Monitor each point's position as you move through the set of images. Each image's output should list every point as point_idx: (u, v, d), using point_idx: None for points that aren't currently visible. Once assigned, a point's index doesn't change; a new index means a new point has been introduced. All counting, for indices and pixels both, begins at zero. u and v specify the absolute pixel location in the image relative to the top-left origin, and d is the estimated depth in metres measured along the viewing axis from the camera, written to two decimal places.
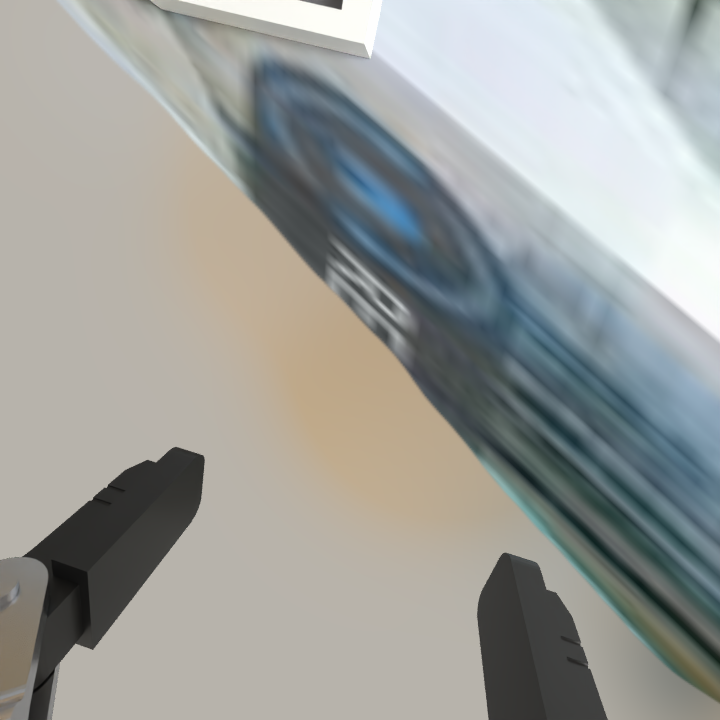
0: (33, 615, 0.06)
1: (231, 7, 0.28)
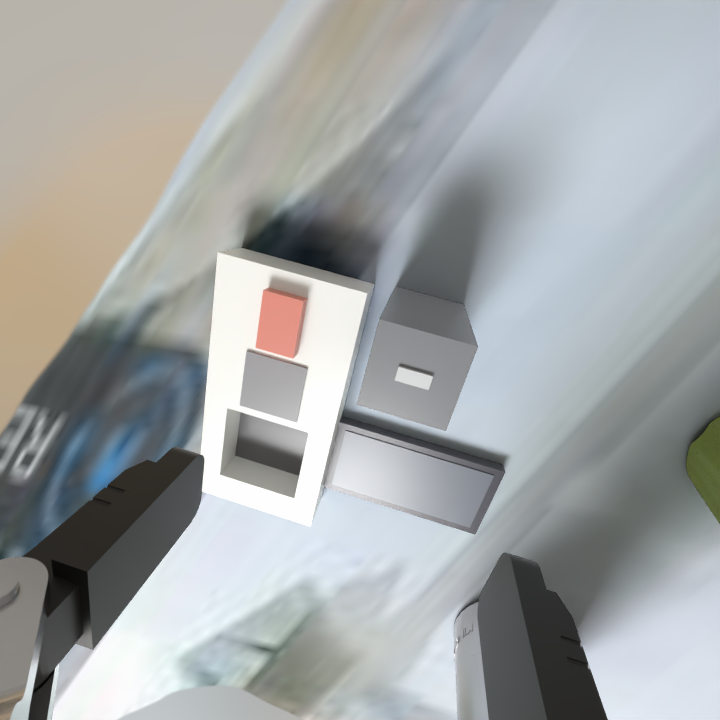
0: (33, 615, 0.06)
1: (212, 371, 0.25)
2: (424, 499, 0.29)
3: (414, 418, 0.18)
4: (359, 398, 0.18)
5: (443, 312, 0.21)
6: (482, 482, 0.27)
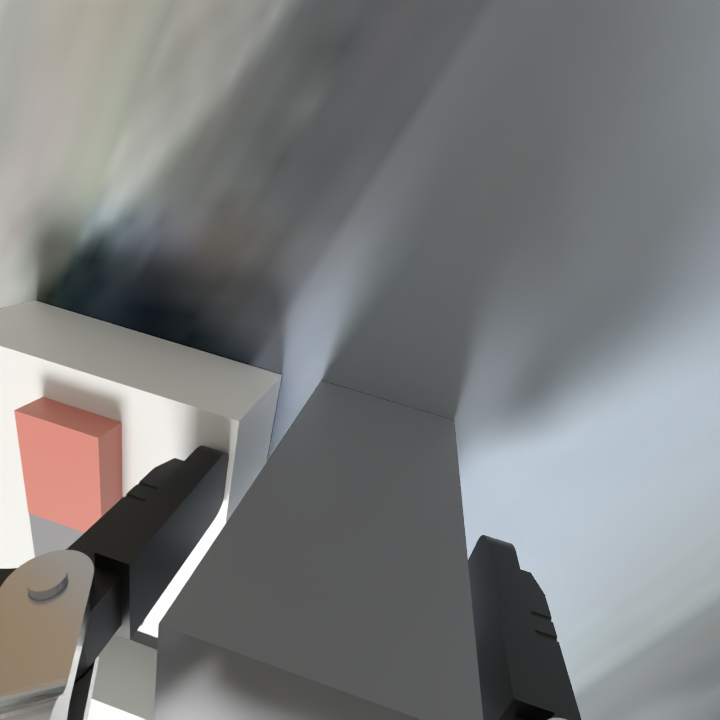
0: (83, 605, 0.06)
1: None
2: None
3: None
4: None
5: (402, 477, 0.09)
6: None
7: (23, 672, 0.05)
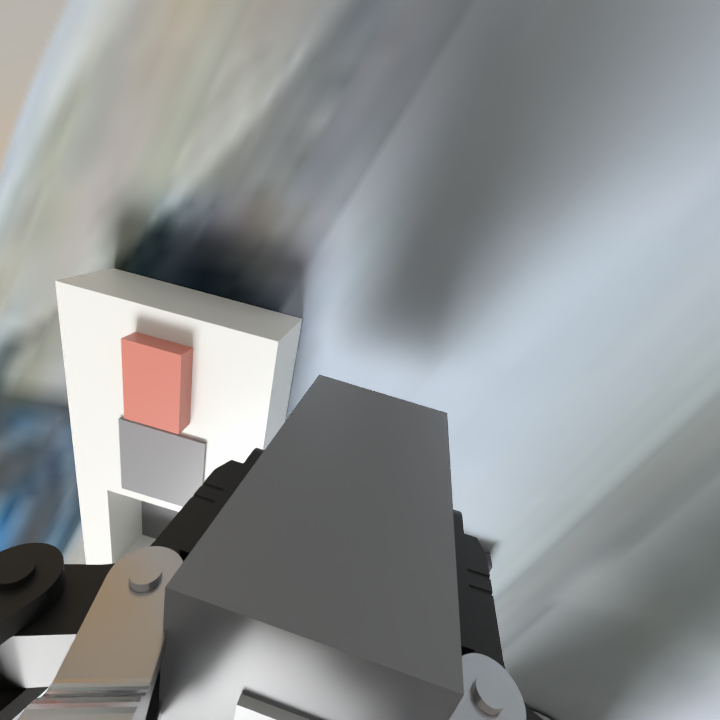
0: None
1: (78, 443, 0.18)
2: None
3: None
4: None
5: (395, 464, 0.09)
6: None
7: (116, 662, 0.05)
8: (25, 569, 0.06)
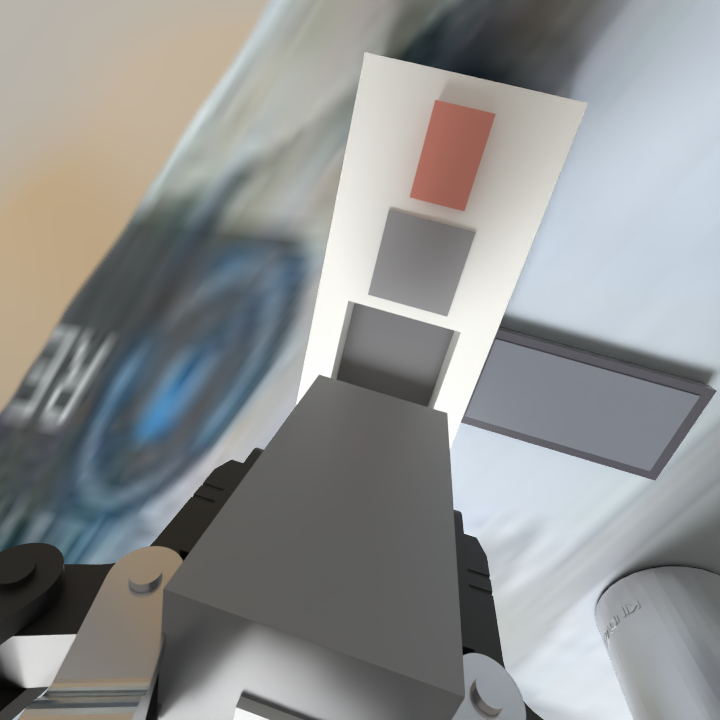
0: None
1: (333, 245, 0.18)
2: (591, 433, 0.22)
3: None
4: None
5: (395, 464, 0.09)
6: (679, 406, 0.20)
7: (116, 662, 0.05)
8: (25, 569, 0.06)
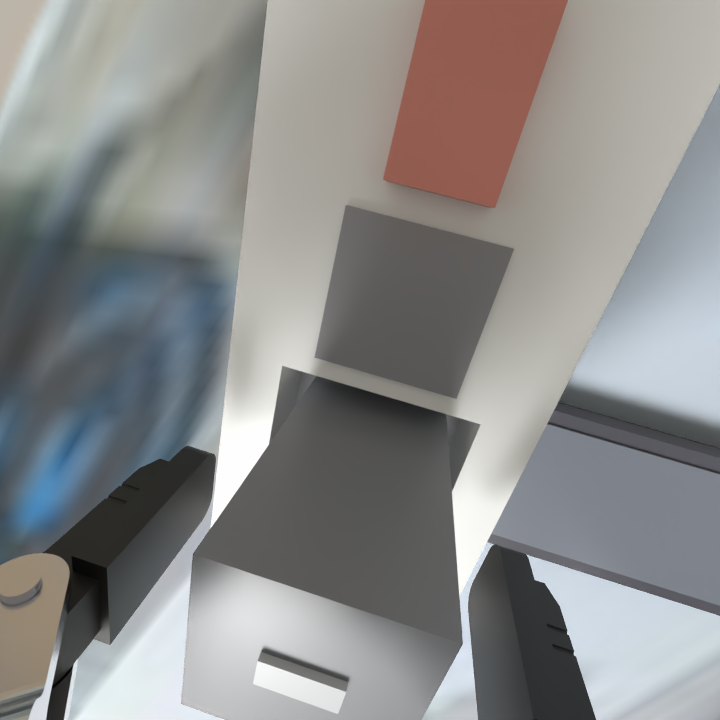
0: (56, 610, 0.06)
1: (249, 270, 0.10)
2: (684, 565, 0.14)
3: None
4: (185, 694, 0.08)
5: (397, 448, 0.10)
6: None
7: None
8: None
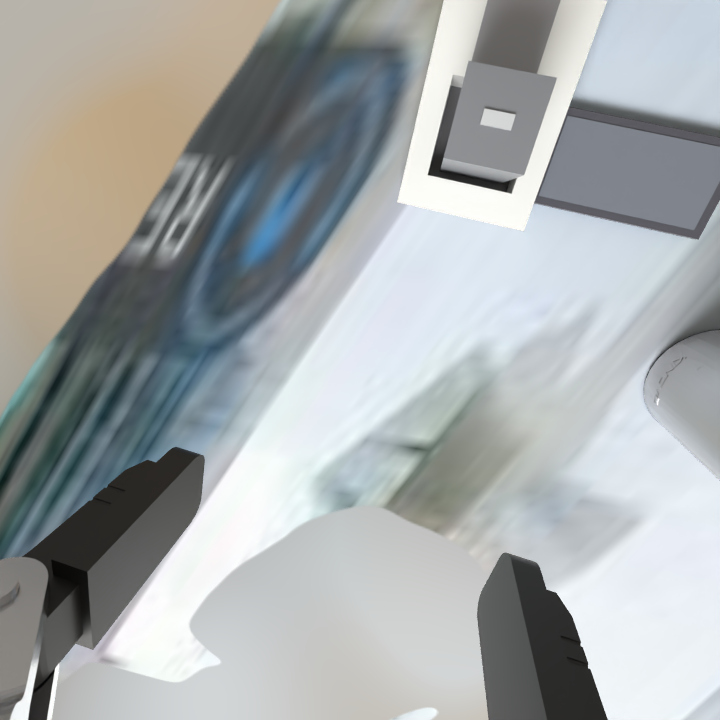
0: (33, 615, 0.06)
1: (444, 22, 0.23)
2: (645, 199, 0.27)
3: (496, 165, 0.21)
4: (446, 151, 0.21)
5: None
6: (719, 162, 0.25)
7: None
8: None
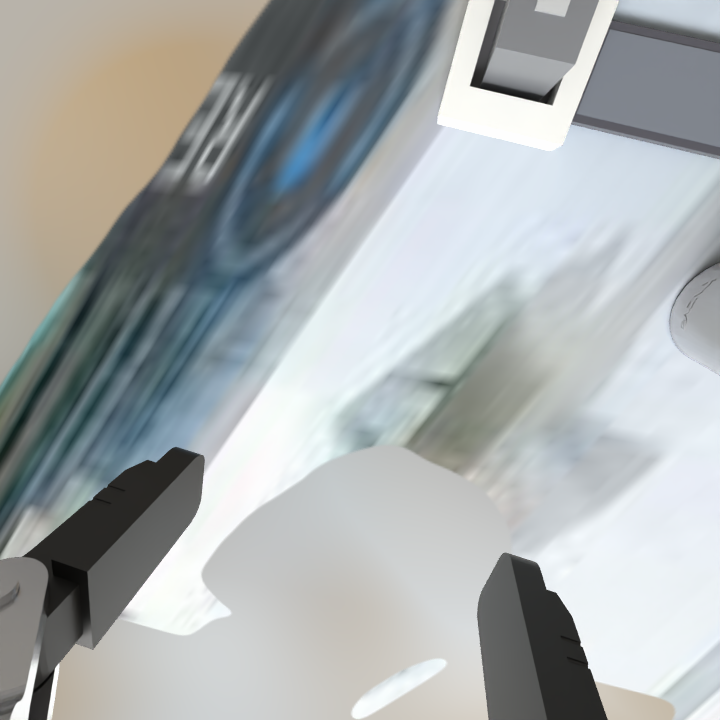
0: (33, 615, 0.06)
1: None
2: (682, 117, 0.27)
3: (547, 54, 0.21)
4: (499, 40, 0.21)
5: None
6: None
7: None
8: None
